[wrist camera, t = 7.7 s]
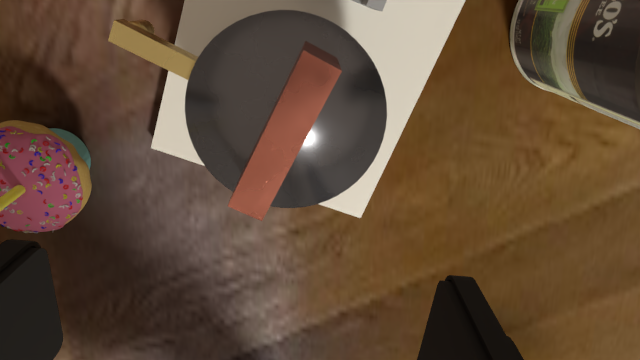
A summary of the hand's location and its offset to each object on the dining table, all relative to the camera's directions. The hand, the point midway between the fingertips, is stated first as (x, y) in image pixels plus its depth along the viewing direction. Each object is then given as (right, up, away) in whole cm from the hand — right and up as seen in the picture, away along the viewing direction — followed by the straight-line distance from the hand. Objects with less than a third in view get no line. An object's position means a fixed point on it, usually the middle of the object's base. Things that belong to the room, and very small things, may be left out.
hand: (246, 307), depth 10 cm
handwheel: (-2, +9, +18) cm, 21 cm away
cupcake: (-19, +5, +24) cm, 32 cm away
